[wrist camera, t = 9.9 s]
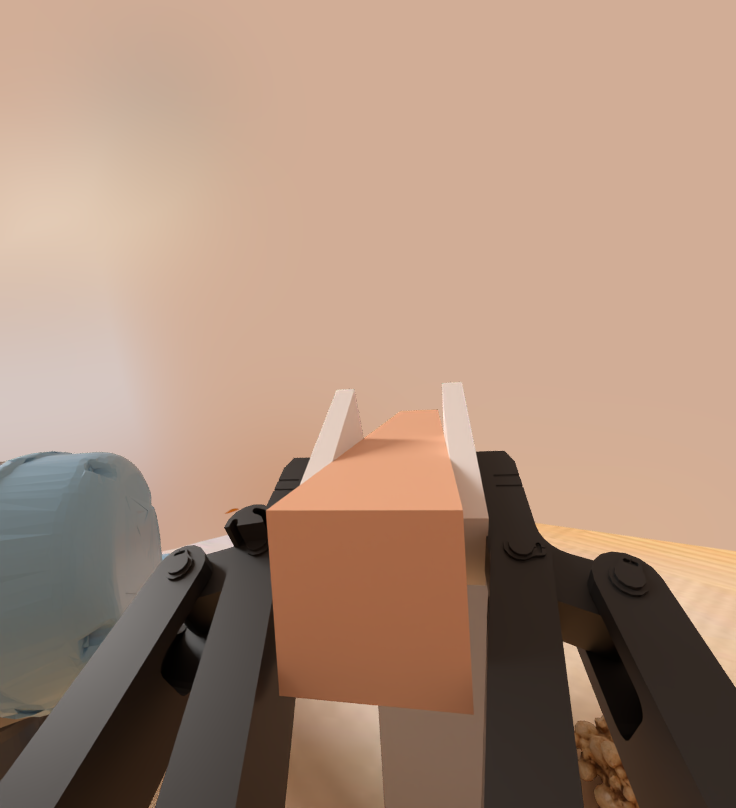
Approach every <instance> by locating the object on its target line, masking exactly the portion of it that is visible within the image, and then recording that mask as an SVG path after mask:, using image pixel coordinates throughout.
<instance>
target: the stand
mask: <svg viewBox="0 0 736 808" xmlns="http://www.w3.org/2000/svg"><path fill="white" fill-rule="evenodd" d="M467 595H468V614H469V632H470V651H471V670H472V688H473V707H474V715H470V714H460V713H450V712H439V711H429V710H419V709H409V708H399V707H388V706H378V709H379V725H380V741H381V756H382V772H383V788H384V804H385V808H481V797H482V764H483V732H484V699H485V667H486V634H487V602H488V589H487V583H486V585H485V586H484V585H467Z"/></svg>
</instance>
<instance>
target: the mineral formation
mask: <svg viewBox="0 0 736 808" xmlns="http://www.w3.org/2000/svg"><path fill="white" fill-rule="evenodd" d="M595 723H596V727H595V726H594V725H593V724H591V723H590V722H586V721H578V722H577V724H576V725H575V732H574V734H575V742H576V749H578V748H580V749H581V750H582V751H583V752H581V757H580V759H579V760H578V765H579V773H580V778H581V779H583V780H585V781H592V780H593V779H594V778H595V777H596V776H597V775H599V776H600V777H601V780H602V783H603V784H598V785H597V786H596V788H595V789H594V796H595V799H596V802H597V803H598V805H599V806H600V808H639V806H638V803H637V800H636V798H635V795H634V793H633V790H632V788H631V785H630V782H629V780H628V777H627V775H626V772H625V770H624V767H623V765H622V762H621V759H620V757H619V754H618V752H617V749H616V747H615V744H614V741H613V739H612V736H611V734H610V731H609V729H608V726H607V723H606V721H605V718H604V716H602V717H601V718H595Z"/></svg>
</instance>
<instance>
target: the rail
mask: <svg viewBox="0 0 736 808" xmlns="http://www.w3.org/2000/svg"><path fill="white" fill-rule="evenodd" d="M266 518H267V532H268V545H269V559H270V573H271V586H272V600H273V614H274V628H275V641H276V655H277V669H278V682H279V696H287V697H297V698H307V699H317V700H327V701H338V702H348V703H358V704H368V705H378V706H388V707H399V708H409V709H419V710H429V711H439V712H450V713H460V714H470V715H474V707H473V688H472V670H471V651H470V632H469V614H468V595H467V576H466V558H465V539H464V520H463V508H462V504H461V500H460V496H459V492H458V488H457V484H456V480H455V476H454V472H453V468H452V464H451V460H450V458H449V454H448V450H447V446H446V442H445V437H444V432H443V428H442V425H441V421H440V416H439V412H438V409H433V410H414V411H400V412H399V413H397V414H396V415H395V416H393V417H392V418H390V419H389V420H388V421H387V422H385V423H384V424H382V425H381V426H380V427H379V428H377V429H376V430H374V431H373V432H371V433H370V434H369V435H368V436H366V437H365V438H364V439H362V440H361V441H360V442H358V443H357V444H356V445H354V446H353V447H352V448H350V449H349V450H347V451H346V452H345V453H343V454H342V455H341V456H339V457H338V458H337V459H335V460H334V461H333V462H331V463H330V464H328V465H327V466H325V467H324V468H323V469H321V470H320V471H319V472H317V473H316V474H315V475H313V476H312V477H311V478H309V479H308V480H307V481H305V482H304V483H302V484H301V485H300V486H298V487H297V488H296V489H294V490H293V491H292V492H290V493H289V494H288V495H286V496H285V497H283V498H282V499H281V500H279V501H278V502H277V503H275V504H274V505H273V506H271V507H270V508H269V509H267V510H266Z"/></svg>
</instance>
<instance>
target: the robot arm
mask: <svg viewBox="0 0 736 808" xmlns="http://www.w3.org/2000/svg"><path fill="white" fill-rule="evenodd" d="M442 396H443V422H444V437H445V442H446V446H447V450H448V454H449V458H450V460H451V464H452V468H453V472H454V476H455V480H456V484H457V488H458V492H459V496H460V500H461V504H462V508H463V520H464V539H465V558H466V576H467V585H484V586H485V585H486V583H487V589H488V602H487V634H486V667H485V699H484V732H483V764H482V797H481V808H584V804H583V796H582V789H581V781H580V773H579V765H578V757H577V750H576V742H575V734H574V726H573V718H572V711H571V703H570V695H569V687H568V679H567V672H566V664H565V656H564V648H563V642H566V643H569V644H571V645H574V646H576V647H577V649H578V652H579V654H580V657H581V659H582V662H583V664H584V667H585V670H586V672H587V675H588V677H589V680H590V682H591V685H592V688H593V690H594V693H595V695H596V698H597V700H598V703H599V705H600V708H601V711H602V713H603V716H604V718H605V721H606V723H607V726H608V729H609V731H610V734H611V736H612V739H613V741H614V744H615V747H616V749H617V752H618V754H619V757H620V759H621V762H622V765H623V767H624V770H625V772H626V775H627V777H628V780H629V782H630V785H631V788H632V790H633V793H634V795H635V798H636V800H637V803H638V806H639V808H736V687H735V686H734V685H733V683H732V682H731V680H730V679H729V677H728V676H727V674H726V673H725V671H724V670H723V668H722V667H721V665H720V664H719V662H718V661H717V659H716V658H715V656H714V655H713V653H712V652H711V650H710V649H709V647H708V646H707V644H706V643H705V641H704V640H703V638H702V637H701V635H700V634H699V632H698V631H697V629H696V628H695V626H694V625H693V623H692V622H691V620H690V619H689V617H688V616H687V614H686V613H685V611H684V610H683V608H682V607H681V605H680V604H679V602H678V601H677V600H676V598H675V597H674V595H673V594H672V592H671V591H670V589H669V588H668V586H667V585H666V583H665V582H664V580H663V579H662V578H661V576H660V575H659V574H658V573H657V572H656V571H655V570H654V569H653V568H652V567H651V566H649V565H648V564H646V563H645V562H643V561H642V560H641V559H639V558H636V557H634V556H631V555H628V554H626V553H619V552H608V553H603V554H600V555H599V556H598V557H597V558H596V559H594V561H593V560H590V559H586V558H583V557H579V556H575V555H572V554H569V553H566V552H564V551H561V550H559V549H557V548H556V547H554V546H552V545H551V544H550V543H548V542H547V541H546V540H545V539H544V538H543V537H542V536H541V534H540V533H539V532H538V529H537V527H536V525H535V522H534V519H533V516H532V513H531V510H530V507H529V504H528V501H527V498H526V495H525V491H524V488H523V487H522V482H521V479H520V477H519V473H518V470H517V467H516V464H515V461H514V460H513V459H512V458H511V457H510V456H509V455H508V454H507V453H506V452H505V451H484V452H476V451H475V446H474V441H473V436H472V431H471V426H470V421H469V416H468V410H467V405H466V400H465V396H464V391H463V386H462V382H454V383H442ZM362 439H364V437H363V432H362V426H361V421H360V416H359V410H358V405H357V400H356V394H355V390H354V389H345V390H336V393H335V395H334V398H333V401H332V403H331V406H330V408H329V411H328V414H327V416H326V419H325V421H324V424H323V426H322V429H321V432H320V434H319V437H318V439H317V442H316V444H315V447H314V450H313V452H312V455H311V457H310V458H294V459H293V460H292V461H291V462H290V463H289V464H288V465H287V466H286V467H285V468H284V470H283V472H282V474H281V476H280V478H279V482H277V485H276V487H275V491H274V492H273V493H272V496H271V498H270V500H269V502H268V504H267V506H265V505H252V506H248V507H245V508H243V509H241V510H240V511H238V512H236V513H235V514H234V515H233V516H232V517H231V518H230V519H229V520H228V522H227V524H226V525H225V527H224V528H225V530H226V532H227V534H228V536H229V537H230V539H231V541H232V543H233V545H234V547H231V548H228V549H225V550H221V551H218V552H214V553H210V554H207V555H206V554H205V552H204V551H203V550H202V548H201V547H198V546H195V545H192V546H185V547H182V548H180V549H177V550H175V551H174V552H172V553H171V554H163V555H162V552H161V542H160V533H159V526H158V520H157V516H156V512H155V509H154V507H153V506H152V505H151V493H150V490H149V487H148V485H147V483H146V481H145V479H144V477H143V475H142V473H141V472H140V471H139V469H138V468H137V467H136V466H135V465H134V464H133V463H132V462H130V461H129V460H127V459H126V458H124V457H122V456H119V455H116V454H113V453H105V452H93V453H80V454H72V453H66V452H44V453H41V452H40V453H34V454H29V455H25V456H20V457H17V458H14V459H11V460H8V461H6V462H0V808H148V807H149V805H150V803H151V801H152V799H153V797H154V795H155V793H156V790H157V788H158V786H159V784H160V782H161V780H162V778H163V775H164V773H165V771H166V774H165V777H164V780H163V783H162V787H161V790H160V793H159V796H158V800H157V803H156V806H155V808H285V800H286V789H287V779H288V769H289V759H290V749H291V739H292V728H293V718H294V708H295V698H296V697H287V696H279V682H278V669H277V655H276V641H275V628H274V614H273V600H272V586H271V573H270V559H269V545H268V532H267V518H266V510H267V509H269V508H270V507H271V506H273V505H274V504H275V503H277V502H278V501H279V500H281V499H282V498H283V497H285V496H286V495H288V494H289V493H290V492H292V491H293V490H294V489H296V488H297V487H298V486H300V485H301V484H302V483H304V482H305V481H307V480H308V479H309V478H311V477H312V476H313V475H315V474H316V473H317V472H319V471H320V470H321V469H323V468H324V467H325V466H327V465H328V464H330V463H331V462H333V461H334V460H335V459H337V458H338V457H339V456H341V455H342V454H343V453H345V452H346V451H347V450H349V449H350V448H352V447H353V446H354V445H356V444H357V443H358V442H360V441H361V440H362ZM166 769H167V770H166Z"/></svg>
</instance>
